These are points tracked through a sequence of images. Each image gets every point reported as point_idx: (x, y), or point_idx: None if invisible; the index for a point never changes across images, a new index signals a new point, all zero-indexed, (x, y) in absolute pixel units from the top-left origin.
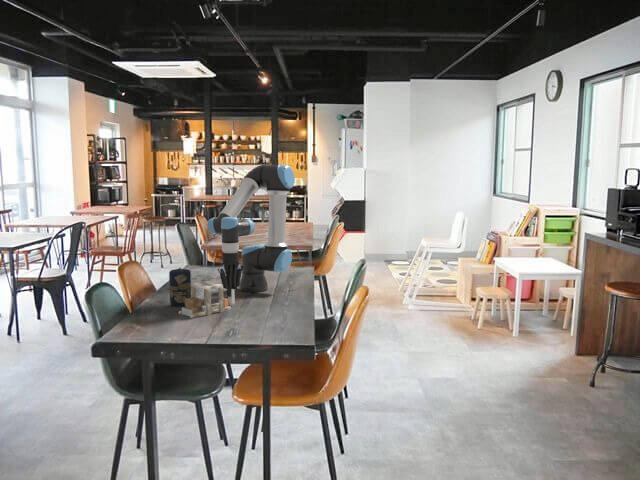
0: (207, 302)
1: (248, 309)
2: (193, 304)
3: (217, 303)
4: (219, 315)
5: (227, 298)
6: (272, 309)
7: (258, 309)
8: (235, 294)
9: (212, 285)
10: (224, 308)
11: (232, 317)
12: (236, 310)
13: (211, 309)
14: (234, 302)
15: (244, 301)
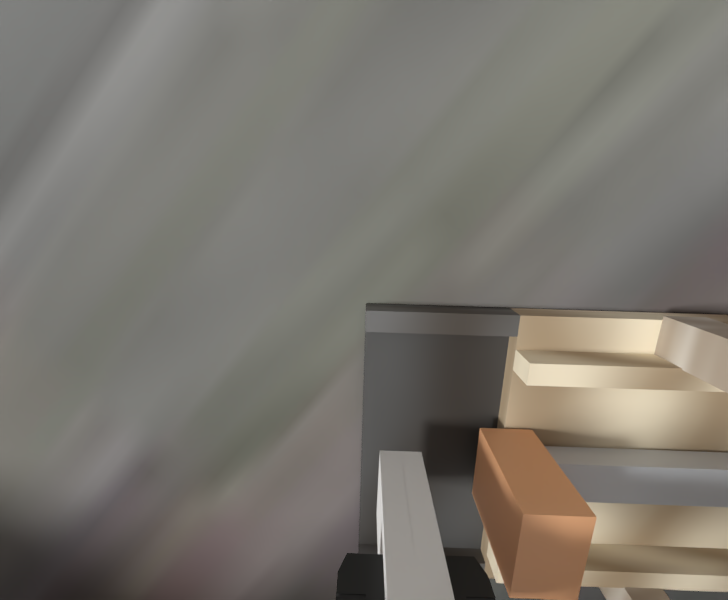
0: None
1: (306, 267)
2: None
3: None
4: (711, 300)
5: (521, 529)
6: (73, 27)
7: (217, 176)
8: (343, 569)
9: None
10: (630, 365)
11: (707, 105)
12: None
13: (711, 460)
14: (385, 458)
15: (132, 543)
